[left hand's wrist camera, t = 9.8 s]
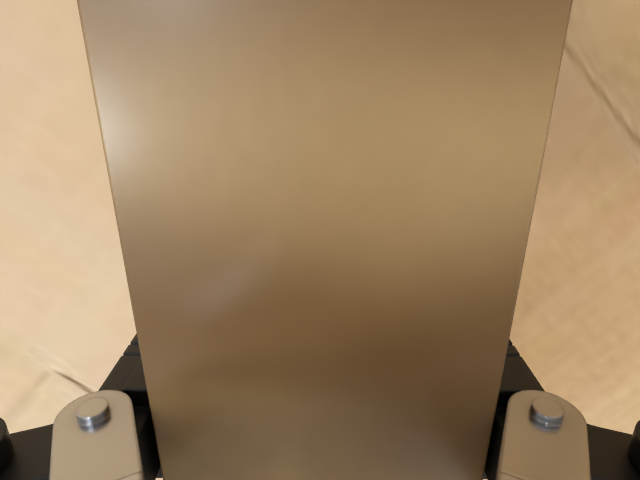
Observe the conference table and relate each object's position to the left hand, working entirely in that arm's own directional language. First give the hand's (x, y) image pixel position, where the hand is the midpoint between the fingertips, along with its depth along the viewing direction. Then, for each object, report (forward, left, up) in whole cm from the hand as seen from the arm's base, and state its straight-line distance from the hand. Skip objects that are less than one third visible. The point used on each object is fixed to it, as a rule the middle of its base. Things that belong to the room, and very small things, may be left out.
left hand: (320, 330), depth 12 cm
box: (-7, -3, -5) cm, 9 cm away
